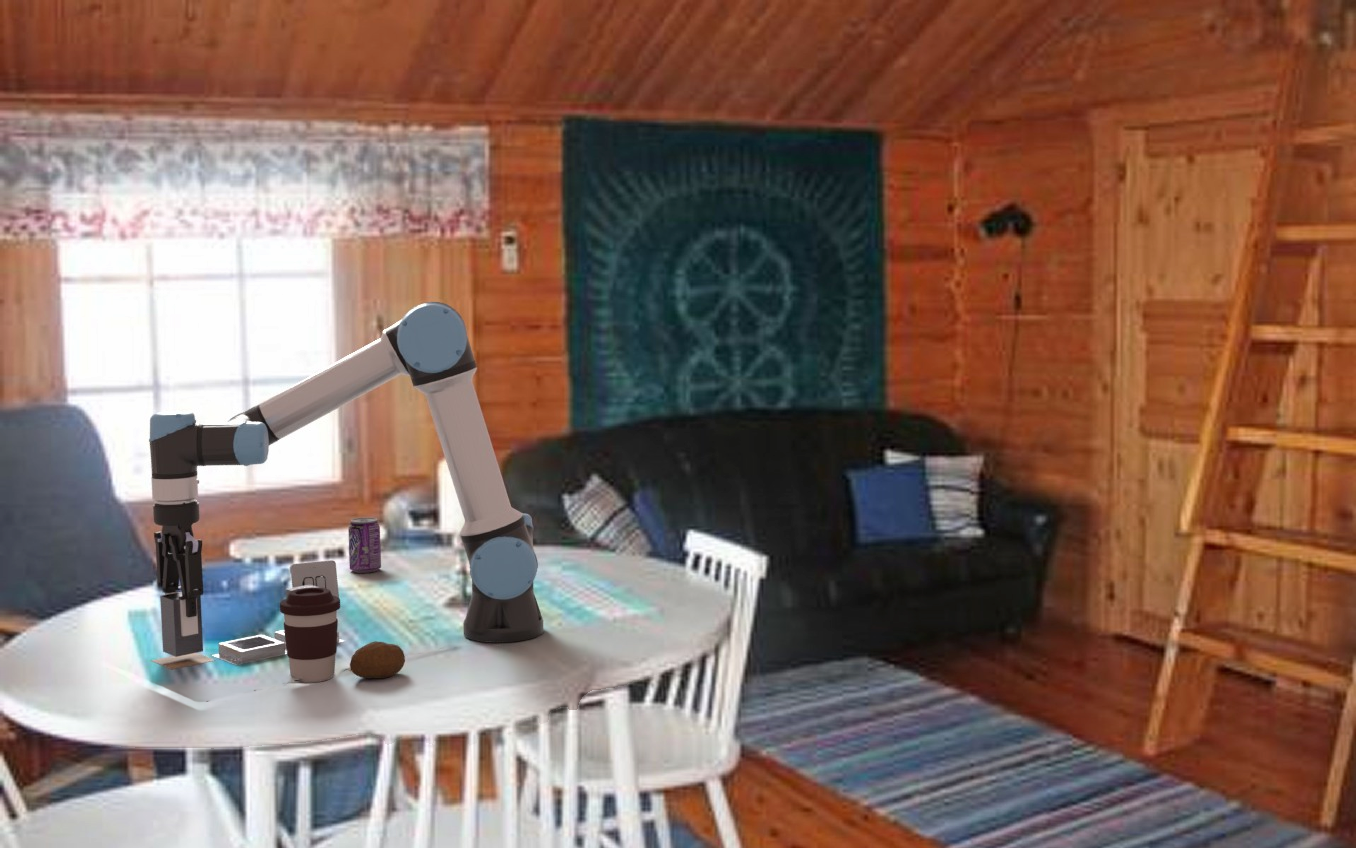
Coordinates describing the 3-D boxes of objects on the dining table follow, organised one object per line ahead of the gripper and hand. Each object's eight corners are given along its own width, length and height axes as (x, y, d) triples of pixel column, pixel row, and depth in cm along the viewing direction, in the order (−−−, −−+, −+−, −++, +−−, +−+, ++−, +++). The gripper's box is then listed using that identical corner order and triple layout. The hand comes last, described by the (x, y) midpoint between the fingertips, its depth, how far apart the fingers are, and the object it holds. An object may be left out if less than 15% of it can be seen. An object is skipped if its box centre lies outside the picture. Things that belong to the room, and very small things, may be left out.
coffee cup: (319, 666, 250) (316, 582, 248) (354, 676, 243) (351, 590, 242) (270, 679, 242) (267, 592, 240) (306, 689, 236) (302, 600, 234)
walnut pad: (215, 665, 250) (215, 660, 250) (172, 675, 245) (171, 669, 245) (194, 657, 256) (194, 651, 256) (151, 666, 250) (151, 660, 250)
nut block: (203, 651, 250) (200, 595, 249) (176, 657, 247) (173, 600, 246) (190, 646, 254) (187, 591, 253) (163, 651, 250) (160, 595, 249)
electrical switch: (294, 610, 291) (291, 565, 291) (289, 607, 296) (287, 562, 296) (340, 605, 295) (337, 561, 295) (334, 602, 300) (332, 558, 300)
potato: (414, 675, 244) (413, 640, 243) (364, 687, 237) (363, 651, 236) (393, 668, 248) (392, 633, 248) (343, 679, 242) (342, 643, 241)
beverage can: (348, 569, 331) (346, 518, 329) (379, 567, 333) (378, 516, 332) (351, 575, 324) (349, 523, 323) (382, 573, 326) (381, 521, 325)
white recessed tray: (346, 646, 263) (345, 630, 262) (236, 670, 247) (235, 653, 247) (320, 637, 269) (320, 622, 269) (211, 660, 254) (210, 644, 253)
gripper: (221, 503, 244) (227, 636, 246) (172, 492, 256) (178, 619, 259) (179, 509, 238) (185, 645, 241) (132, 497, 251) (138, 626, 254)
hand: (182, 631), depth 250 cm, fingers open, 5 cm apart
